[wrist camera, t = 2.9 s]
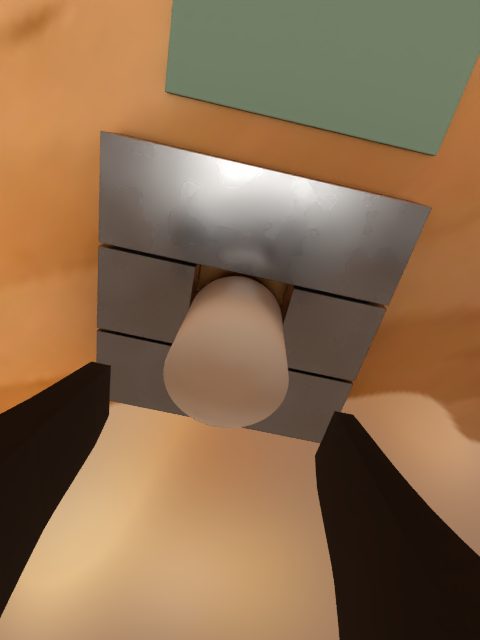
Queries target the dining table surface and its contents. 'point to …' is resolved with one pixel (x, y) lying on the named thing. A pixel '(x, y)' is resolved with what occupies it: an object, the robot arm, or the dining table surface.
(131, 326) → the bore plate
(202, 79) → the mat
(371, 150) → the dining table surface
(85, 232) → the dining table surface
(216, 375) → the end cover
